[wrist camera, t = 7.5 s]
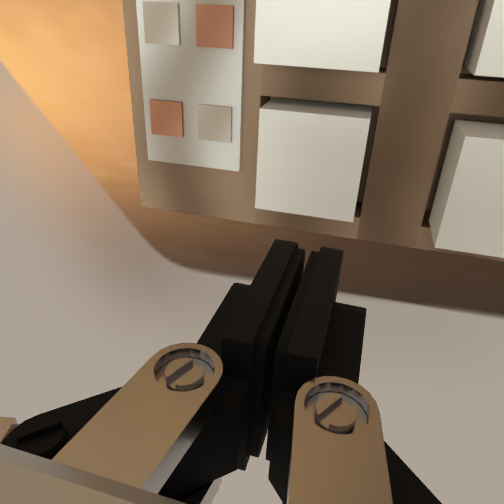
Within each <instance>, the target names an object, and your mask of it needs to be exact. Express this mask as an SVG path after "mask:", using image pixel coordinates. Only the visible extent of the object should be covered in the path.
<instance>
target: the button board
mask: <svg viewBox="0 0 504 504" xmlns="http://www.w3.org/2000/svg"><path fill="white" fill-rule="evenodd" d="M122 1H123V12H124V23H125V34H126V45H127V56H128V67H129V78H130V89H131V100H132V111H133V122H134V133H135V144H136V155H137V166H138V178H139V189H140V200H141V206H142V207H148V208H155V209H161V210H168V211H175V212H181V213H188V214H194V215H201V216H207V217H214V218H220V219H227V220H234V221H240V222H247V223H253V224H260V225H266V226H273V227H280V228H286V229H293V230H299V231H306V232H312V233H319V234H325V235H332V236H339V237H345V238H352V239H358V240H365V241H371V242H378V243H384V244H391V245H398V246H404V247H411V248H417V249H424V250H430V251H437V252H443V253H450V254H457V255H463V256H470V257H476V258H483V259H489V260H496V261H503V262H504V258H500V257H493V256H487V255H480V254H473V253H467V252H460V251H454V250H447V249H440V248H434V243H433V238H432V233H431V228H430V223H429V218H430V214H431V210H432V206H433V202H434V198H435V195H436V191H437V187H438V183H439V179H440V176H441V172H442V168H443V164H444V160H445V157H446V153H447V149H448V145H449V141H450V138H451V134H452V130H453V126H454V122H455V120H464V121H474V122H485V123H496V124H504V78H503V77H490V76H476V75H473V74H472V73H471V72H469V71H468V70H467V69H465V68H464V67H463V65H464V61H465V57H466V53H467V50H468V46H469V42H470V38H471V34H472V30H473V26H474V22H475V18H476V14H477V10H478V7H479V3H480V0H391V3H390V8H389V14H388V20H387V26H386V32H385V38H384V44H383V50H382V56H381V61H380V67H379V73H377V72H364V71H350V70H337V69H324V68H311V67H297V66H284V65H271V64H258V63H254V41H255V16H256V0H122ZM273 97H277V98H288V99H299V100H310V101H321V102H332V103H343V104H354V105H365V106H372V112H371V119H370V125H369V131H368V137H367V143H366V149H365V154H364V160H363V166H362V172H361V178H360V184H359V190H358V196H357V202H356V208H355V213H354V219H353V222H347V221H340V220H333V219H326V218H319V217H312V216H305V215H298V214H292V213H285V212H278V211H271V210H264V209H257V208H255V195H256V174H257V153H258V132H259V111H260V108H261V107H262V106H263V105H265V104H266V103H267V102H268V101H270V100H271V99H272V98H273Z"/></svg>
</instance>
